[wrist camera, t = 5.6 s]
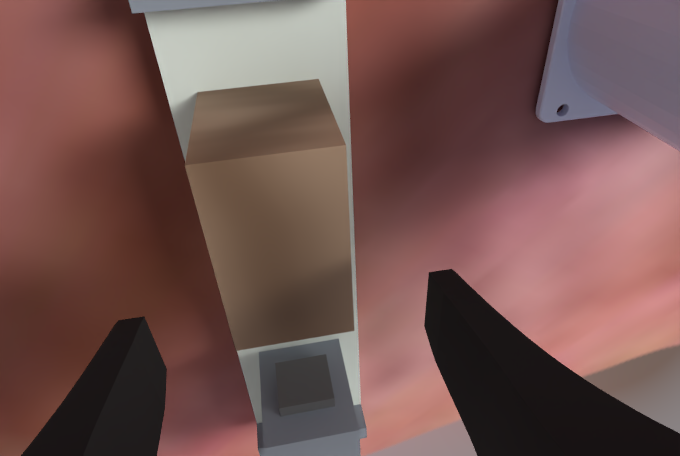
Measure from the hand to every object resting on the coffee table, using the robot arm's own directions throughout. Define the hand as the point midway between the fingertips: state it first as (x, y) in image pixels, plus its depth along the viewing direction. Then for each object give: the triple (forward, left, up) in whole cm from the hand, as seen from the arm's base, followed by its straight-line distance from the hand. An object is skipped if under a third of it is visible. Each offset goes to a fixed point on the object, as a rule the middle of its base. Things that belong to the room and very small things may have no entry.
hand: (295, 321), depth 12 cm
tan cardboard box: (0, 0, -7) cm, 7 cm away
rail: (0, +5, -9) cm, 10 cm away
